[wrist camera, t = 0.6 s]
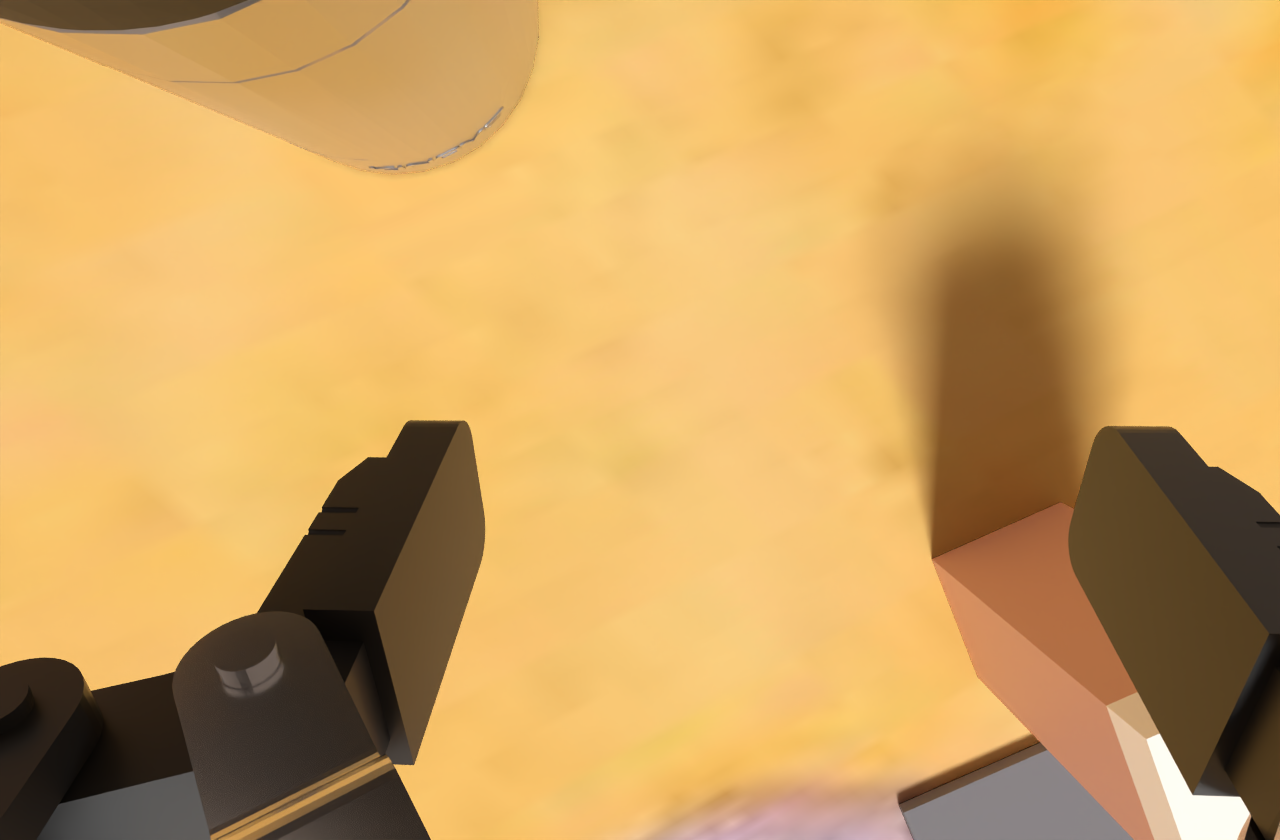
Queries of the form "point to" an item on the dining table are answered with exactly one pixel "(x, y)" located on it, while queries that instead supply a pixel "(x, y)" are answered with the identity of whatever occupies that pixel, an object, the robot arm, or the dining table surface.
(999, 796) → the mat
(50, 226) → the dining table surface
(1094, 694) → the block
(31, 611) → the dining table surface
